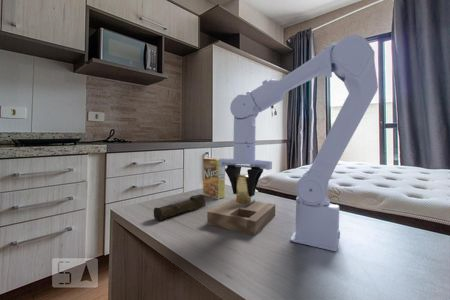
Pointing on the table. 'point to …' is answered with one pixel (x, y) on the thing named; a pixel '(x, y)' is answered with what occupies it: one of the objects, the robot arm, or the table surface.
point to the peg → (242, 189)
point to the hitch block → (241, 216)
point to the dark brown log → (179, 207)
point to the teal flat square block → (251, 201)
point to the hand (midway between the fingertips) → (243, 194)
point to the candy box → (213, 178)
